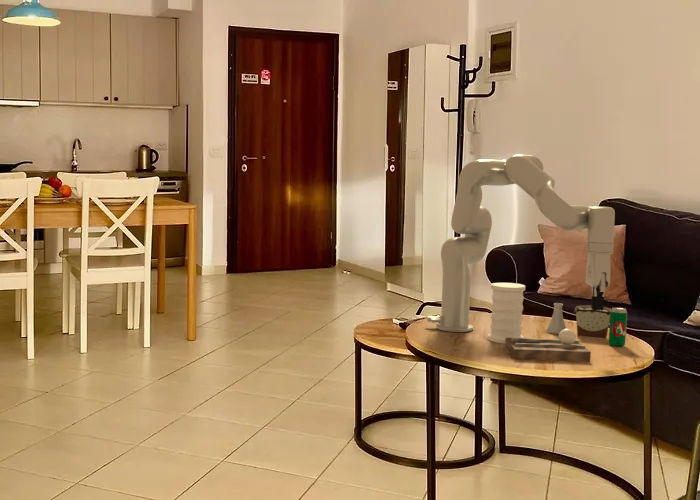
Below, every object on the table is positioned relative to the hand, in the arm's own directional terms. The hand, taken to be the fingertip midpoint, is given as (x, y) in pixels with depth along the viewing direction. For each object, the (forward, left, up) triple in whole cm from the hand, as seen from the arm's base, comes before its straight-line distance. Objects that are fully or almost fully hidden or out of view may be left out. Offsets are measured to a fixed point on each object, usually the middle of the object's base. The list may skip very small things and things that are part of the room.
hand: (597, 309), depth 240 cm
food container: (+8, +30, -15) cm, 34 cm away
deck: (-14, 0, -14) cm, 20 cm away
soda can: (+12, +16, -14) cm, 25 cm away
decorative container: (-23, +19, -15) cm, 34 cm away
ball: (-8, 0, -9) cm, 12 cm away
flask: (-3, +34, -15) cm, 37 cm away
